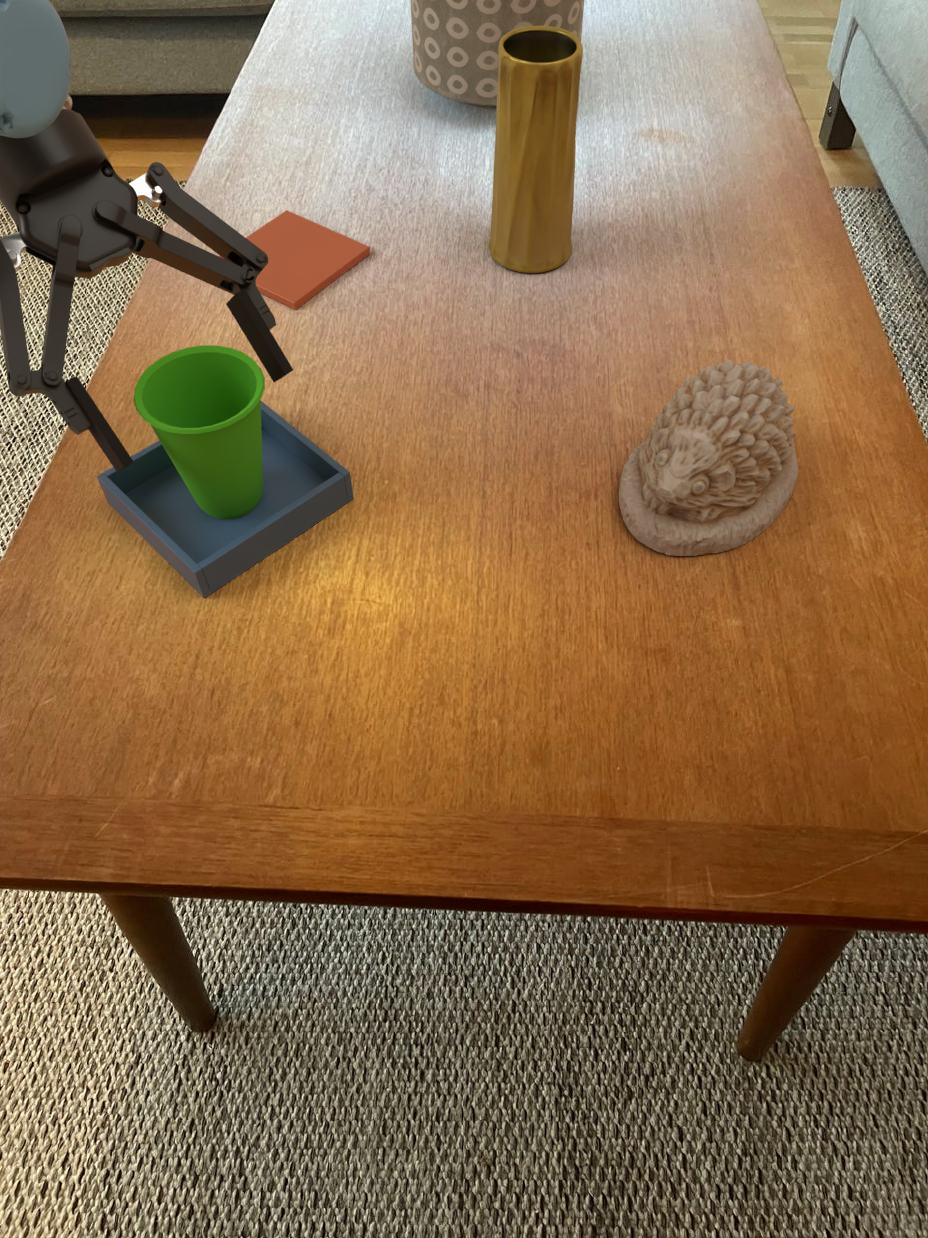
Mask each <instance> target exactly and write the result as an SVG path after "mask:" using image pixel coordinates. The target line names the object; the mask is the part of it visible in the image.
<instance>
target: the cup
mask: <svg viewBox="0 0 928 1238" xmlns="http://www.w3.org/2000/svg"><path fill="white" fill-rule="evenodd" d="M265 389H266V378H265V375H264V372H263V369H262V368H261V366H260V365H259V364H258V363H257V362H256V361H255V360H254V358H252V357H250V356H249V355H248V354H247V353H245V352H243V351H241V350H238V349H235V348H232V347H228V346H222V345H216V344H214V345H213V344H212V345H207V344H206V345H205V344H204V345H196V346H190V347H184V348H181V349H179V350H175V351H172V352H170V353H168V354H166V355H164V356H162V357H160V358H158V359H157V360H155V361H153V363H152V364H151V365H149V366H147V368H146V369H145V370H144V371H143V372H142V373H141V375H140V376H139V378H138V380H137V381H136V384H135V387H134V390H133V393H134V394H133V399H132V400H133V403H134V407H135V410H136V412H137V413H138V415H139V416H140V418H141V419H142V420H143V421H145V422H146V423H147V424H148V425H150V427H151V428H152V430H153V431H154V433H155V435H156V436H157V439H158V441H159V440H160V442H161V443H162V445H163V447H164V449H165V450H166V452H167V454H168V455H169V457H170V459H171V460H172V462H173V464H174V465H175V467H176V469H177V471H178V472H179V474H180V476H181V477H182V479H183V481H184V482H185V484H186V486H187V487H188V489H189V491H190V493H191V494H192V496H193V498H194V499H195V501H196V503H197V504H198V506H199V507H200V508H201V509H202V510H203V511H205V512H206V513H207V514H209V515H211V516H213V517H216V518H221V519H231V518H237V517H240V516H242V515H245V514H247V513H248V512H250V511H251V510H253V509H254V508H255V507H256V506H257V504H258V503H259V501H260V498H261V496H262V493H263V463H262V427H261V401H262V397H263V395H264V392H265Z"/></svg>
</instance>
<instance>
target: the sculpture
mask: <svg viewBox="0 0 928 1238" xmlns="http://www.w3.org/2000/svg"><path fill="white" fill-rule="evenodd" d="M782 388H783V381H782V380H781V379H780V378H774V377H772V374H771V370H770V369H769V368H766V366H763V365H754V363H753V362H752V361H748V360H746V361H743V362H740V363H739V364H737V363H736V364H735V363H734V361H732V359H725V360H724V361H723V362H719V363H717V365H716V366H714V365H708V366H706V367H705V368H702V369H699V371H698V373H697V374H696V375H694V376H692V377H687V378H685V380H684V382H683V386H682V385H681V386H680V387H679V388H678V389H677V390H675V392H674V393H673V395H672V398H671V399H670V400H668V401H667V402H666V404H665V405H664V406H662V409H661V411H662V412H661V413H660V412H659V413H657V415H656V417H655V424H653V425H652V426H651V428H650V431H649V432H648V435H647V438H646V440H645V441H642V442H641V443H640V444H639V445H638V446H636V447H634V448H633V450H632V451H631V453H630V454H629V457H628V458H627V461H626V463H624V465H623V469H622V472H621V475H620V480H619V486H618V503H619V506H618V507H619V511H620V514H621V516H622V520H623V522H624V524H625V526H626V528H627V530H628V531H629V532H630V534H631V535H632V536H633V537H634V538H635V540H637V541H638V542H639V543H641V544H643V545H644V546H646V547H647V548H649V549H650V550H651V549H652V550H653V551H655V552H658V553H660V554H665V555H666V556H676V557H692V556H694V557H697V556H698V555H699V556H702V555H705V554H719V553H724V552H726V551H730V550H734V549H737V548H738V547H740V546H742V545H746V543H748V542H750V541H752V540H753V539H754V538H757V537H758V536H759V535H760V534H761V533H763V532H765V531H766V529H767V528H768V527H770V526H771V525H772V524H773V522H774V521H775V520H776V519H777V518H778V516H780V515H781V514H782V512H783V510H784V509H785V507H786V506H787V505H788V503H789V500H790V499H791V497H792V496H793V493H794V491H795V489H796V486H797V482H798V476H799V471H800V470H799V469H800V468H799V463H798V459H797V455H796V448H795V444H794V440H795V439H793V438H794V437H795V436H796V430H794V429H793V428H792V427H793V425H794V421H793V418H792V417H791V414H792V413H793V411H794V410H795V408H794V406H793V404H791V403H789V402H788V399H789V396H788V394H786V391H783V390H782Z"/></svg>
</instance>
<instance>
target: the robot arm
mask: <svg viewBox="0 0 928 1238" xmlns="http://www.w3.org/2000/svg"><path fill="white" fill-rule="evenodd" d="M70 58H71V47H70V42H69V38H68V35H67V32H66V29H65V26H64V24H63V21H62V19H61V16H60V15H59V13H58V11H57V10H56V8H55V7H54V5H53V4H52V3H51V2H50V0H0V202H1V204H2V205H3V207H4V209H5V210H6V211H7V213H8V215H9V216H10V217H11V219H12V220H13V221H14V223H15V226H16V229H17V232H13V233H11V234H7V235H4V236H1V237H0V336H1V343H2V351H3V358H4V364H5V371H6V378H7V385H8V386H7V387H8V390H9V392H10V394H11V395H13V396H15V397H19V398H21V397H25V396H26V395H33V394H40V395H44V396H45V397H47V398H48V400H50V402H51V403H52V405H53V407H54V408H55V409H56V411H57V412H58V414H59V415H60V417H61V418H62V419H63V421H64V422H65V424H66V426H67V427H68V428H69V430H70V431H71V432H73V433H74V434H76V435H77V436H79V435H81V434H83V433H84V432H86V431H89V433H90V435H91V436H92V437H93V439H94V440H95V442H96V444H97V445H98V446H99V448H100V450H101V451H102V453H104V455H105V457H106V458H107V460H108V461H109V463H110V465H111V466H112V467H114V468H115V470H116V471H117V472H119V471H121V470H123V469H124V468H126V467H128V466H129V465H130V464H131V463H133V462H134V461H133V460H132V458H131V455H130V453H129V452H128V451H127V449H126V448H125V446H124V445H123V444H122V442H121V440H120V438H119V437H118V436H117V434H116V433H115V432H114V429H113V428H112V427H111V425H110V424H109V422H108V421H107V419H106V417H105V416H104V415H103V413H102V412H101V411H100V409H99V407H98V405H97V404H96V402H95V401H94V399H93V398H92V397H91V395H90V394H89V392H88V390H87V389H86V388H85V386H84V385H83V383H82V382H81V380H80V379H79V377H78V375H75V376H73V377H71V378H70V379H67V380H65V379H64V377H63V376H64V366H65V359H66V351H67V342H68V334H69V327H70V326H69V325H70V318H71V310H72V309H71V308H72V301H73V293H74V286H75V281H76V278H79V279H87V281H88V280H90V279H93V278H95V277H97V276H99V274H100V273H102V271H104V270H105V269H106V268H112V267H117V266H118V267H119V265H122V264H125V263H126V262H127V261H128V260H129V258H130V256H131V255H132V254H135V255H137V256H139V257H141V258H144V259H152V260H155V261H157V262H159V263H161V264H163V265H166V266H168V267H170V268H172V269H174V270H177V271H180V272H182V273H183V274H186V275H188V276H190V277H192V278H194V279H197V280H200V281H202V282H204V283H206V284H208V285H211V286H213V287H215V288H217V289H219V290H222V291H224V292H227V293H228V294H231V295H233V296H232V297H230V298H229V300H228V301H227V302H226V303H225V305H226V306H227V308H228V310H229V311H230V313H231V315H232V316H233V318H234V320H235V322H236V323H237V325H238V326H239V328H240V330H241V331H242V333H243V334H244V336H245V338H246V340H247V341H248V342H249V345H250V346H251V348H252V349H253V351H254V352H255V354H256V356H257V358H258V359H259V361H260V362H261V364H262V366H263V367H264V369H265V371H266V372H267V374H268V376H269V377H270V379H271V381H272V382H273V383H276V382H278V381H279V380H282V379H283V378H284V377H286V376H287V375H289V374H291V372H293V371H294V368H293V366H292V365H291V363H290V362H289V360H288V358H287V357H286V355H285V353H284V352H283V350H282V347H281V346H280V345H279V343H278V341H277V340H276V338H275V337H274V335H273V332H271V330H272V329H273V328H275V327H276V326H277V321H276V317H275V315H274V314H273V312H272V311H271V309H270V307H269V306H268V304H267V302H266V300H265V299H264V297H263V294H261V293H260V292H259V290H258V289H257V287H256V278H257V276H258V275H259V274H260V272H261V271H262V270H263V269H264V267H265V266H266V265H267V264H268V256H267V254H266V253H265V252H263V251H262V250H261V249H260V248H258V247H257V246H256V245H254V244H253V243H252V242H250V241H249V240H248V239H246V236H244V235H243V234H241V233H240V232H239V231H237V230H236V229H235V228H234V227H232V226H231V225H229V224H228V222H225V220H223V219H221V218H220V217H219V216H218V215H216V214H215V213H214V212H213V211H211V210H210V209H208V208H207V207H206V206H204V205H203V204H202V203H201V202H199V201H198V200H197V199H196V198H194V197H193V196H192V195H190V194H189V193H188V192H186V191H185V190H184V189H183V188H182V187H180V185H179V183H177V181H176V180H175V178H174V177H173V176H172V174H171V173H170V172H169V170H168V169H167V167H165V165H164V164H162V163H161V162H158V161H154V162H152V163H151V164H150V165H149V167H148V168H147V171H146V172H145V173H144V174H141V176H140V175H139V176H138V177H137V178H135V179H134V180H132V181H130V182H128V181H126V180H125V179H123V178H121V176H119V174H118V173H117V172H116V171H115V169H114V167H113V165H112V163H111V161H110V159H109V158H108V156H107V155H106V152H105V151H104V149H103V148H102V146H101V145H100V143H99V141H98V140H97V138H96V137H95V135H94V133H93V132H92V130H91V129H90V127H89V125H88V124H87V122H86V120H85V119H84V117H83V116H82V114H80V113H79V112H76V111H74V110H72V107H73V99H72V97H71V95H70V94H69V93H70V87H71V83H72V81H71V80H72V75H71V66H72V63H71V59H70ZM139 201H142V202H145V203H146V204H147V205H148V206H149V207H150V208H151V207H152V208H158V209H159V210H160V211H161V212H162V213H163V214H164V215H165V216H167V217H168V218H169V219H170V220H172V221H173V223H175V224H177V225H178V226H179V227H181V228H182V229H184V230H185V231H186V232H188V234H190V235H191V236H193V237H194V238H196V239H197V240H198V241H199V242H201V243H203V244H204V245H205V246H206V247H207V248H209V249H210V250H212V251H213V252H214V253H212V252H210V251H208V250H206V249H203V248H201V247H199V246H197V245H195V244H193V243H191V242H189V241H187V240H185V239H182V238H180V237H177V236H175V235H174V234H171V233H169V232H167V231H165V230H163V228H162V227H161V226H160V225H158V224H157V223H155V222H152V221H150V220H148V219H146V218H143V217H141V216H140V215H139V214H138V212H139V211H138V210H139V209H138V207H139ZM24 252H25V253H27V254H28V255H30V256H33V257H34V258H36V259H38V260H40V261H42V262H45V263H46V264H48V265H51V266H52V267H51V275H50V283H49V296H48V302H47V303H48V305H47V312H46V319H45V330H44V335H43V336H44V337H43V345H42V354H41V361H40V369H34V370H31V366H30V365H31V364H30V358H29V351H28V344H27V337H26V329H25V321H24V313H23V307H22V301H21V300H22V299H21V294H20V287H19V286H20V285H19V280H18V279H19V278H18V276H17V272H18V271H19V270H20V268H21V265H22V256H21V255H22V253H24ZM215 253H216V254H215ZM219 255H220V256H221V257H223V258H224V259H223V258H221V257H219Z"/></svg>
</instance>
